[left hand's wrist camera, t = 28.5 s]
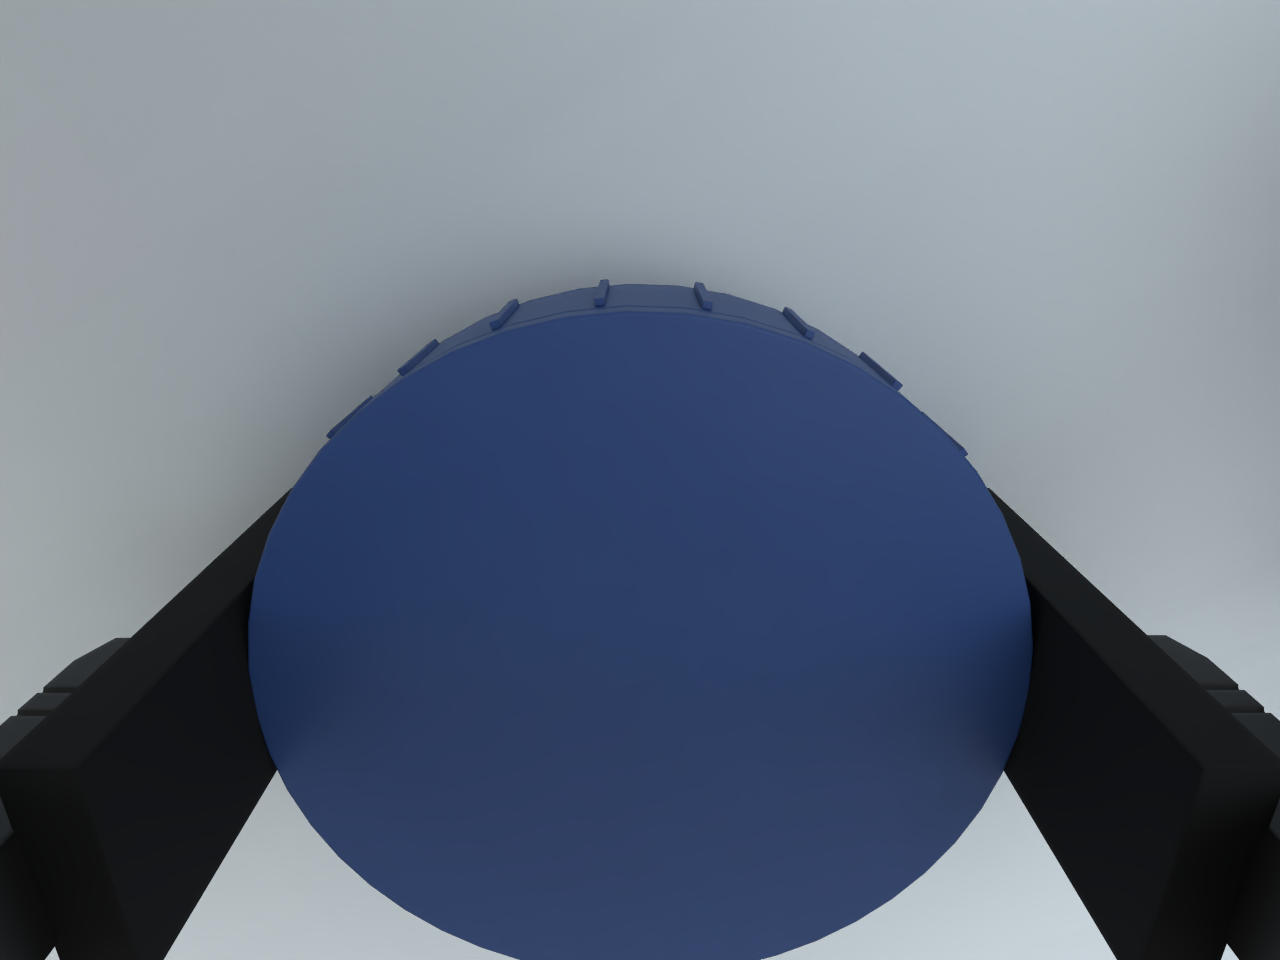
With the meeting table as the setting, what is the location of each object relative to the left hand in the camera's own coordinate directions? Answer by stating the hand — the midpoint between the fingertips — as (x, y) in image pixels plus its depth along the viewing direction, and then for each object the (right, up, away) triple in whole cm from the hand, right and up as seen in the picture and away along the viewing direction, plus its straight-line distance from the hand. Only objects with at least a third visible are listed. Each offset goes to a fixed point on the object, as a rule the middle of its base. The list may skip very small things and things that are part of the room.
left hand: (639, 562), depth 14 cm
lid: (0, -1, -3) cm, 3 cm away
